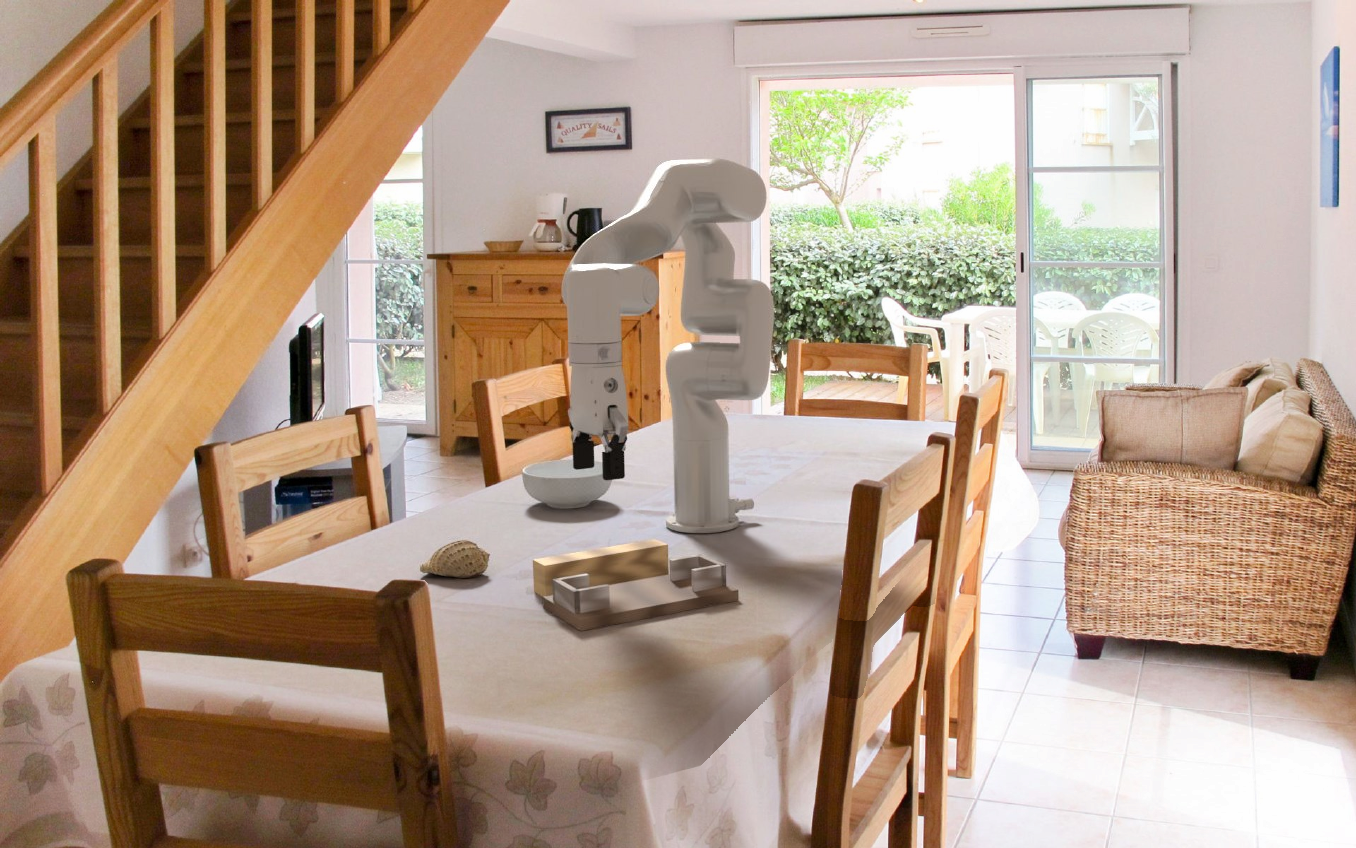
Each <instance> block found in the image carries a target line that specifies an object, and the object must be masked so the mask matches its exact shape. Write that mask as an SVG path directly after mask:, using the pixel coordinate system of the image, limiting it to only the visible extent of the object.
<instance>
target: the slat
mask: <svg viewBox="0 0 1356 848" xmlns="http://www.w3.org/2000/svg"><path fill="white" fill-rule="evenodd" d="M580 574H588V575H589V587H594V586H599V585H605V584H607V585H612V584H618V583H623V582H629V581H635V580H640V579H646V578H652V577H657V576H663V575H669V574H670V565H669V544H668V543H665V542H663V541H660V540H657V539H655V538H653V539H646V540H643V541H642V540H641V541H636V542H629V543H624V544H623V543H622V544H617V545H611V546H606V547H599V548H594V549H588V550H581V551H577V552H570V553H564V554H563V553H562V554H558V555H552V556H546V557H541V558H533V559H532V576H533V578H532V579H533V592H534V593H535V594H537V595H539V596H541V597H542V598H543V597H544V596H550V595H553V589H552V579H557V578H563V577H569V576H575V575H580Z"/></svg>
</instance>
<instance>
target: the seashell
mask: <svg viewBox="0 0 1356 848" xmlns="http://www.w3.org/2000/svg"><path fill="white" fill-rule="evenodd" d="M490 556H491V554H490V553H488V552H487V551H485V549H483V548H481V547H479V546H478V545H477V543H475V542H473V541H470V540H467V539H466V540H458V541H454V542H453V541H452V542H450V543H448V544H445V545H444V546H442V547H440V548H439V549H437V550H436V551H435V552H434V553H433V554H432V556H431V557H430V559H428V560H427V561H426V562H425V563H424V564H420V566H419V571H420V572H421V573H423V574H434V575H437V576H438V575H439V576H442V577H443V576H444V577H453V578H454V577H455V578H460V579H461V578H462V579H470V578H471V579H472V578H476V577H478V576H480V575H482V574H484V573H485V572H486V571H487V569H488V567H489V563H488V562H489V561H490Z"/></svg>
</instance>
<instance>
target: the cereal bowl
mask: <svg viewBox="0 0 1356 848" xmlns="http://www.w3.org/2000/svg"><path fill="white" fill-rule="evenodd" d="M521 470H522V471H521V477H522V484H523V487H524V489H525V491H526V493H527V494H528V495H529V496H530V497H531V498H533V499H534V500H536V501H539V502H541V503H544V504H546V505H547V506H548V507H550V508H553V509H559V510H560V509H562V510H563V509H565V510H566V509H567V510H568V509H578V508H583V507H587V506H588V505H590V503H591V502H593V501H596V500H598V499H600V498H601V497H603V496H604V495H605V494H607V491H609V489H610V487H611V485H612V481H613V480H604V479H603V469H602V460H601V461H600V460H595V459H594V467H593V468H587V469H579V470H576V469H574V468H573V458H571V459H568V458H567V459H557V460H555V459H554V460H549V461H542V462H540V461H539V462H535V463H532V464H529V465H527V466H525V467H524V468H523V469H521Z"/></svg>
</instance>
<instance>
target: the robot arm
mask: <svg viewBox="0 0 1356 848" xmlns="http://www.w3.org/2000/svg"><path fill="white" fill-rule="evenodd" d="M767 199H768V198H767V188H766V185H765V182H764V179H763V178H762V177H761V175H760V174H759V173H758V172H757V171H755V170H754V169H752V168H749V167H747V166H745V165H742V164H740V163H737V162H734V161H731V160H729V159H725V158H719V157H718V158H717V157H716V158H713V157H712V158H692V159H675V160H669V161H666V162H663V163H662V164H660V165H658V166H657V167H656V168H655V170H653V172H652V174H651V175H650V177H649V179H648V181H647V182H646V184H645V186H644V187H643V189H642V191H641V192H640V194H639V196H638V198H637V199H636V201H635V203H634V204H633V206H632V208H631V209H630V211H629V213H628V214H626V215H624V216H622V217H620V218H618V219H617V220H615V221H613V222H612V223H610V224H608V225H607V226H605V227H603V228H602V229H600V230H599V231H597V232H595V233H594V234H592V235H591V236H590V237H589V238H587V239H586V240H585V241H584V242H583V243H582V244H581V245H580V246H579V247H578V249H577V250H576V252H575V253H574V256H573V257H572V258H571V260H570V262H569V264H568V266H567V268H566V270H565V272H564V274H563V278H562V283H561V297H562V301H563V304H564V305H565V306H566V307H567V309H566V310H567V311H566V312H567V339H568V341H567V343H568V344H567V345H568V346H567V347H568V348H567V349H568V366H569V367H571V369H570V371H571V373H570V385H569V387H570V388H569V389H570V390H569V391H570V393H569V401H570V402H569V406H570V407H569V408H568V410H567V415H568V418H569V419H568V420H569V429H570V431H571V435H570V440H571V442H572V459H573V468H574V469H576V470H579V469H587V468H593V467H594V460H595V443H594V441H595V440H592V437H597V438H600V441H601V443H602V447H603V449H604V451H602V452H601V461H602V469H603V479H604V480H612V481H613V480H622V479H625V477H626V475H625V474H626V473H625V469H626V468H625V451H626V450H627V449H626V448H627V447H626V443H627V441H628V436H627V435H628V432H629V426H630V425H629V413H628V399H627V389H626V381H625V374H624V370H623V366H622V364H623V359H622V358H623V351H622V349H623V347H622V346H623V345H622V317H624V316H625V317H627V316H628V317H630V316H631V317H632V316H633V317H634V316H637V317H638V316H642V315H644V314H646V313H649V312H650V311H651V310H652V309H653V308H654V307H655V306H656V304H657V302H658V299H659V296H660V283H659V280H658V277H657V276H656V274H655V272H654V271H653V270H651V268H649V267H647V266H645V265H643V264H638V263H641V262H644V261H647V260H651V259H653V258H655V257H659V256H661V255H663V254H665V253H667V252H668V251H670V250H671V249H673V248H674V247H675V245H676V244H677V242H678V241H679V238H680V237H681V240H682V244H683V247H684V269H683V277H682V278H683V279H682V288H681V289H682V290H681V298H680V299H681V301H680V321H681V325H682V327H683V328H684V329H685V330H686V331H687V332H688V333H691V334H694V335H700V336H721V337H722V336H724V337H728V336H729V337H731V336H732V337H739V342H714V341H709V342H708V341H707V342H706V341H705V342H704V341H693V342H692V341H691V342H685V343H682V344H678V345H677V346H675V347H673V349H671V350H670V352H669V353H668V355H667V358H666V359H665V376H666V377H665V378H666V382H667V386H668V387H667V388H668V391H669V397H670V398H669V399H670V405H671V416H672V450H673V451H672V453H673V455H672V456H673V497H674V498H673V499H674V507H673V508H674V514H672V515H669V516H668V517H666V519H665V526H666V527H667V528H668V529H669V530H672V531H675V532H679V533H689V534H711V533H712V534H713V533H714V534H715V533H722V532H726V531H730V530H734V529H735V528H737V527H738V526H739V524H740V519H739V517H738V516H737V515H736V514H738V513H739V512H740V511H747V510H748V511H749V510H753V509H754V507H755V502H754V500H753V498H751V497H750V498H749V497H748V498H743V499H739V498H738V497H737V498H734V497H731V496H730V458H729V457H730V452H729V451H730V448H729V446H730V444H729V436H730V434H729V433H730V432H729V429H730V428H729V424H728V423H729V421H728V419H727V417H726V414H725V413H724V411H723V409H722V407H721V406H720V405H719V404H718V402H717V400H729V401H754V400H757V399H759V398H761V397H762V396H763V395H764V393H765V392H766V389H767V387H768V383H769V377H770V367H771V355H772V343H773V333H774V321H775V320H774V319H775V306H774V297H773V294H772V292H771V289H770V288H769V286H768V285H767V284H766V283H765V282H763V281H761V280H758V279H750V278H748V279H747V278H745V279H742V278H740V279H739V278H738V279H737V278H736V279H735V278H734V275H735V261H736V254H735V253H736V252H735V249H734V247H733V245H732V243H731V241H730V239H729V238H728V236H727V235H726V233H725V232H724V231H723V230H722V229H721V227H720V226H719V224H720V223H721V224H725V223H727V224H728V223H751V222H754V221H756V220H758V219H759V218H760V216H762V214H763V213H764V210H765V208H766V204H767ZM610 438H611V439H610Z"/></svg>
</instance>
